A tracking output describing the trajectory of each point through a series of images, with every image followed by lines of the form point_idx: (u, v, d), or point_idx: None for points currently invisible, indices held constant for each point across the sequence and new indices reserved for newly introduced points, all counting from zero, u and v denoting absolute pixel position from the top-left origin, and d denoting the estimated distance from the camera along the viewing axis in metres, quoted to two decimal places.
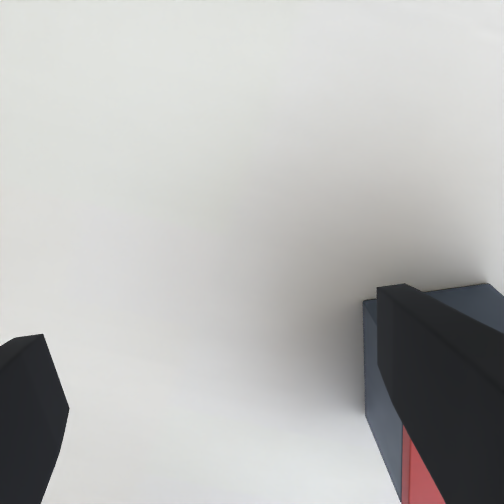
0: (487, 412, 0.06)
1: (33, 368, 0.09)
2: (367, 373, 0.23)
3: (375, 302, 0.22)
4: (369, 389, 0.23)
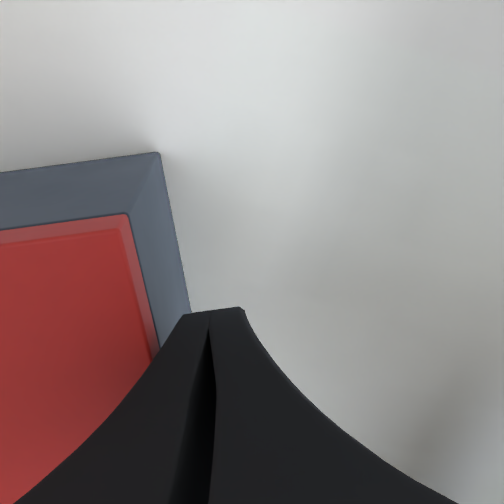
0: None
1: None
2: None
3: None
4: None
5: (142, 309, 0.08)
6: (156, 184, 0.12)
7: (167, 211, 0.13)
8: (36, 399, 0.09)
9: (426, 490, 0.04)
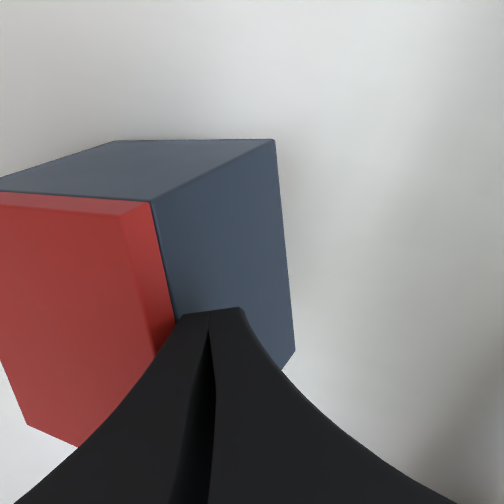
0: None
1: None
2: None
3: (118, 142, 0.15)
4: None
5: (146, 293, 0.09)
6: (248, 173, 0.12)
7: (268, 200, 0.13)
8: (78, 340, 0.10)
9: (425, 490, 0.04)
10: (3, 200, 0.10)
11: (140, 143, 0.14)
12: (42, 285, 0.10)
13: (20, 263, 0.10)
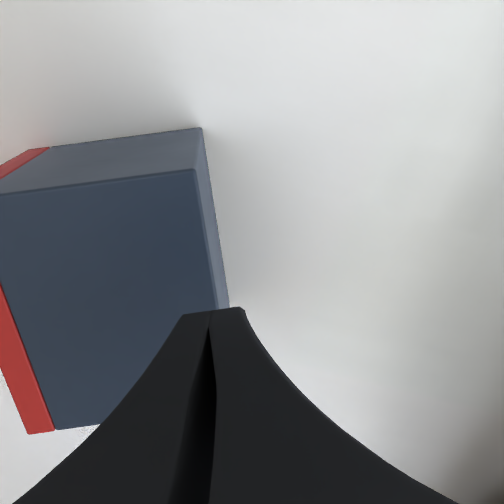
0: None
1: None
2: None
3: (191, 130, 0.16)
4: None
5: None
6: (128, 198, 0.11)
7: (173, 233, 0.11)
8: None
9: (426, 489, 0.04)
10: (6, 164, 0.14)
11: (184, 136, 0.15)
12: None
13: None
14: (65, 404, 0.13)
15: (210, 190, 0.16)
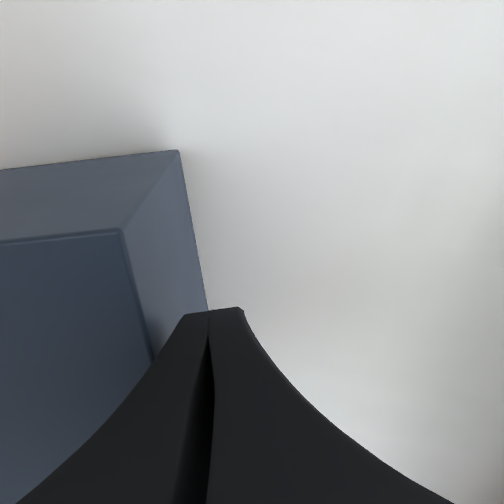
0: None
1: None
2: None
3: (163, 154, 0.13)
4: None
5: None
6: (30, 266, 0.08)
7: (96, 313, 0.08)
8: None
9: (423, 490, 0.04)
10: None
11: (148, 164, 0.12)
12: None
13: None
14: None
15: (187, 228, 0.13)
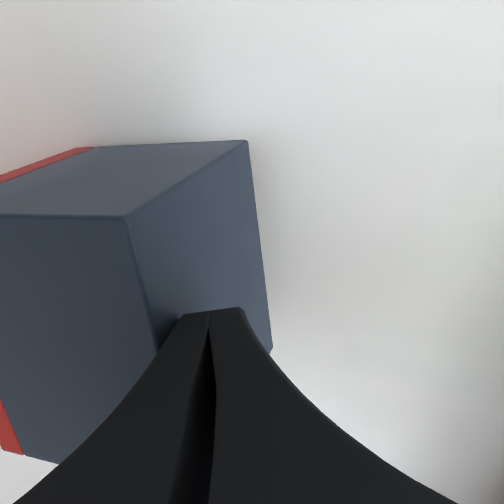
0: None
1: None
2: None
3: (230, 143, 0.13)
4: None
5: None
6: (57, 240, 0.09)
7: (108, 290, 0.09)
8: None
9: (426, 490, 0.04)
10: (26, 167, 0.13)
11: (208, 153, 0.12)
12: None
13: None
14: (28, 435, 0.12)
15: (245, 219, 0.13)
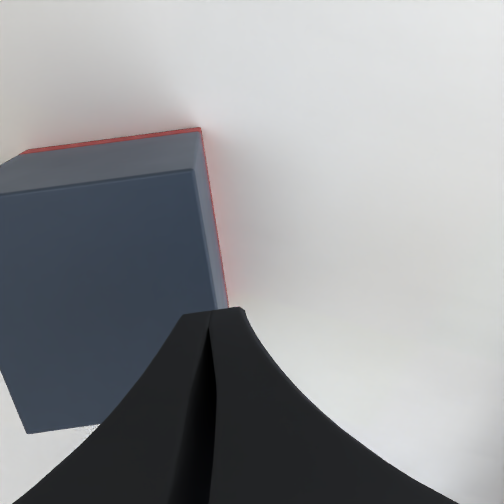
0: None
1: None
2: (217, 296, 0.13)
3: (172, 167, 0.11)
4: None
5: None
6: None
7: None
8: None
9: (427, 490, 0.04)
10: (131, 136, 0.16)
11: (128, 171, 0.11)
12: None
13: None
14: None
15: (169, 253, 0.12)
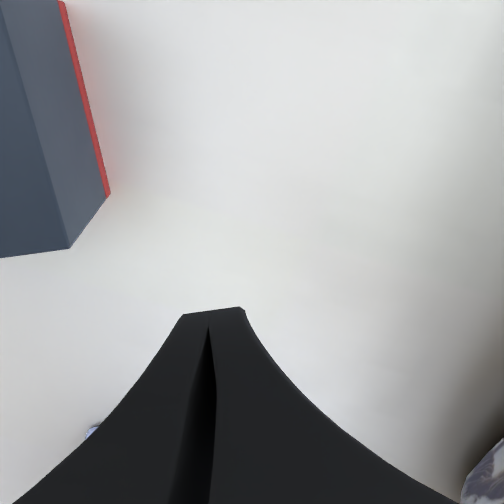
0: None
1: None
2: (45, 132, 0.13)
3: None
4: (56, 156, 0.14)
5: None
6: None
7: None
8: None
9: (427, 490, 0.04)
10: None
11: None
12: None
13: None
14: None
15: None
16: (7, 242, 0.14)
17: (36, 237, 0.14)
